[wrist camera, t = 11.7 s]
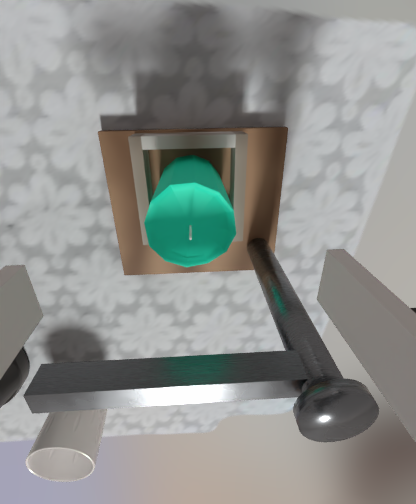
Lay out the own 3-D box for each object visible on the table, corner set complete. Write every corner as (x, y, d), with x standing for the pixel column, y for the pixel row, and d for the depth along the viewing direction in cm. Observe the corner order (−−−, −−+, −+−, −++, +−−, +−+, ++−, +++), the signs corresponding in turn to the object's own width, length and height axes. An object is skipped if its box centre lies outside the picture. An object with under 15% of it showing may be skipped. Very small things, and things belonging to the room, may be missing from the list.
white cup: (59, 369, 40) (22, 445, 31) (116, 375, 41) (95, 449, 32) (61, 404, 43) (28, 480, 34) (113, 408, 44) (93, 483, 36)
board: (126, 269, 32) (118, 290, 29) (101, 130, 25) (86, 134, 22) (269, 263, 33) (279, 283, 29) (284, 126, 26) (299, 130, 22)
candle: (225, 158, 26) (249, 195, 15) (216, 218, 29) (231, 283, 18) (161, 150, 25) (139, 183, 15) (158, 212, 28) (139, 277, 18)
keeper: (113, 269, 31) (22, 463, 14) (106, 236, 29) (-8, 415, 12) (274, 262, 31) (367, 439, 15) (277, 230, 30) (389, 391, 13)
